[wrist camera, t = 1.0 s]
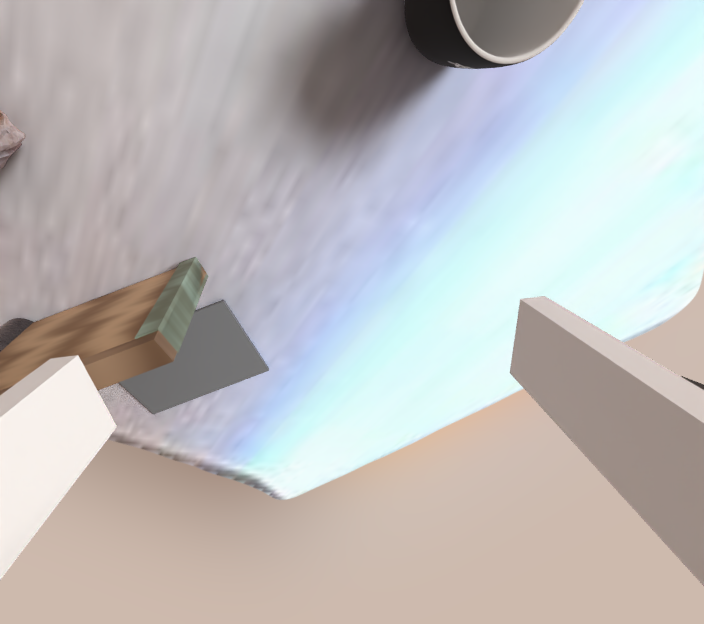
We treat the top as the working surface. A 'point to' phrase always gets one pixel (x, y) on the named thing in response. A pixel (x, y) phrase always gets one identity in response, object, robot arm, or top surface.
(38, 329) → the gate
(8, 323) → the gate post
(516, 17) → the mug
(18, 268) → the top surface
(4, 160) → the food item
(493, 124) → the top surface
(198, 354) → the mat
